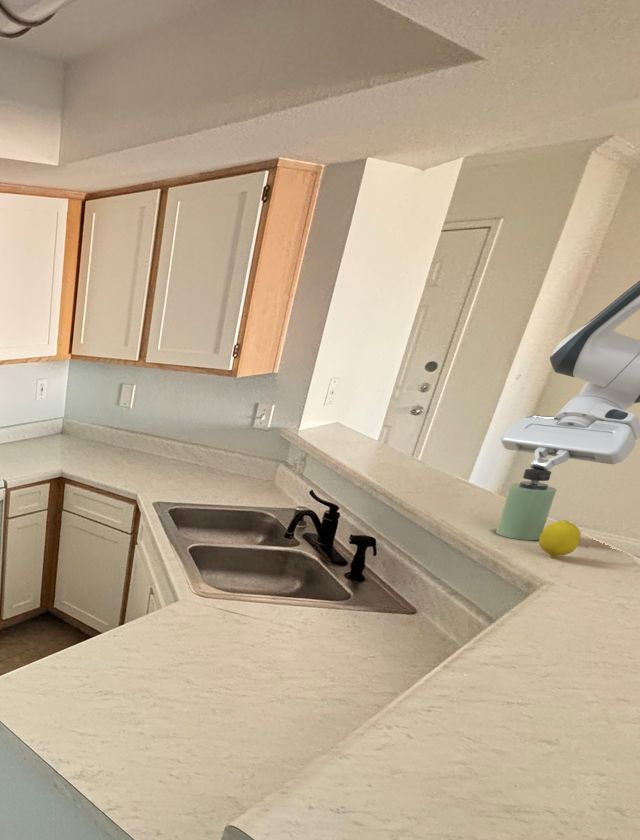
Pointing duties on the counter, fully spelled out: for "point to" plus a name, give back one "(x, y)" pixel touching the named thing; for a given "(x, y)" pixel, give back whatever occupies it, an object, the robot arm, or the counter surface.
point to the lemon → (559, 538)
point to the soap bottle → (525, 510)
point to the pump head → (536, 475)
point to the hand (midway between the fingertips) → (538, 468)
